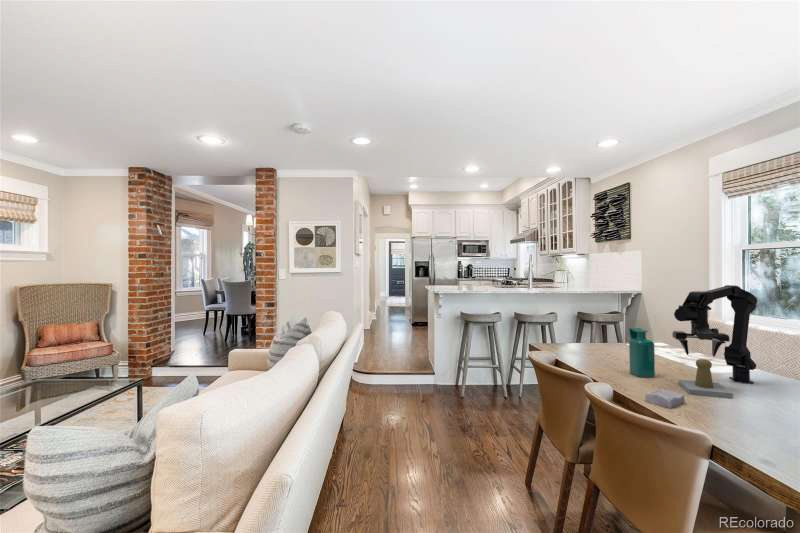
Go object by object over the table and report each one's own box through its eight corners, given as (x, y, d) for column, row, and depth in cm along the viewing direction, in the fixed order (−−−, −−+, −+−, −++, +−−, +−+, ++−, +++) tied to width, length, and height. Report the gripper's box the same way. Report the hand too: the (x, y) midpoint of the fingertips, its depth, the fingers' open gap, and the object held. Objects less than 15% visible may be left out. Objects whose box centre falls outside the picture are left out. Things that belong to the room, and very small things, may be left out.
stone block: (643, 406, 140) (672, 409, 132) (640, 393, 141) (669, 395, 133) (659, 401, 146) (687, 404, 138) (656, 389, 147) (684, 391, 139)
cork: (717, 388, 148) (716, 361, 148) (700, 387, 149) (699, 361, 149) (708, 384, 154) (707, 358, 154) (691, 383, 155) (691, 357, 155)
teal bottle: (657, 377, 170) (656, 330, 171) (639, 377, 171) (638, 331, 171) (643, 371, 180) (642, 327, 180) (626, 371, 180) (625, 327, 181)
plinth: (678, 383, 160) (678, 379, 160) (718, 387, 155) (718, 383, 155) (689, 394, 148) (688, 389, 148) (733, 398, 142) (732, 393, 142)
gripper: (679, 322, 156) (680, 358, 155) (734, 323, 148) (735, 361, 148) (671, 318, 166) (672, 352, 166) (723, 320, 158) (724, 355, 158)
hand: (700, 355), depth 159 cm, fingers open, 9 cm apart
